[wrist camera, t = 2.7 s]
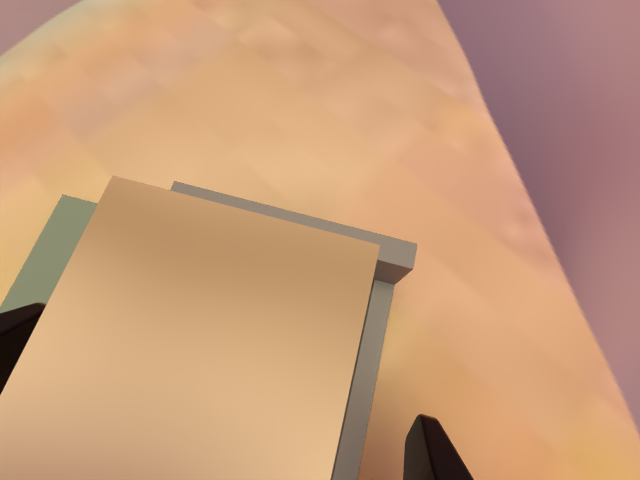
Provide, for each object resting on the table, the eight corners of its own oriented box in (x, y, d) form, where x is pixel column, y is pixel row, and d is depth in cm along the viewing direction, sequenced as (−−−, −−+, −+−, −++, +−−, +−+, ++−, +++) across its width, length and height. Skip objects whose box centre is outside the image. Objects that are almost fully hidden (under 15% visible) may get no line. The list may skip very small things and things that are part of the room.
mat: (141, 376, 16) (138, 376, 16) (-8, 335, 16) (-15, 334, 16) (198, 232, 18) (196, 229, 18) (67, 197, 18) (62, 194, 18)
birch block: (302, 436, 14) (306, 592, 4) (188, 404, 14) (-48, 487, 4) (330, 319, 15) (380, 245, 6) (227, 291, 15) (111, 175, 6)
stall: (338, 486, 15) (361, 561, 9) (140, 430, 15) (46, 469, 10) (380, 282, 18) (417, 244, 12) (213, 238, 18) (174, 181, 13)
